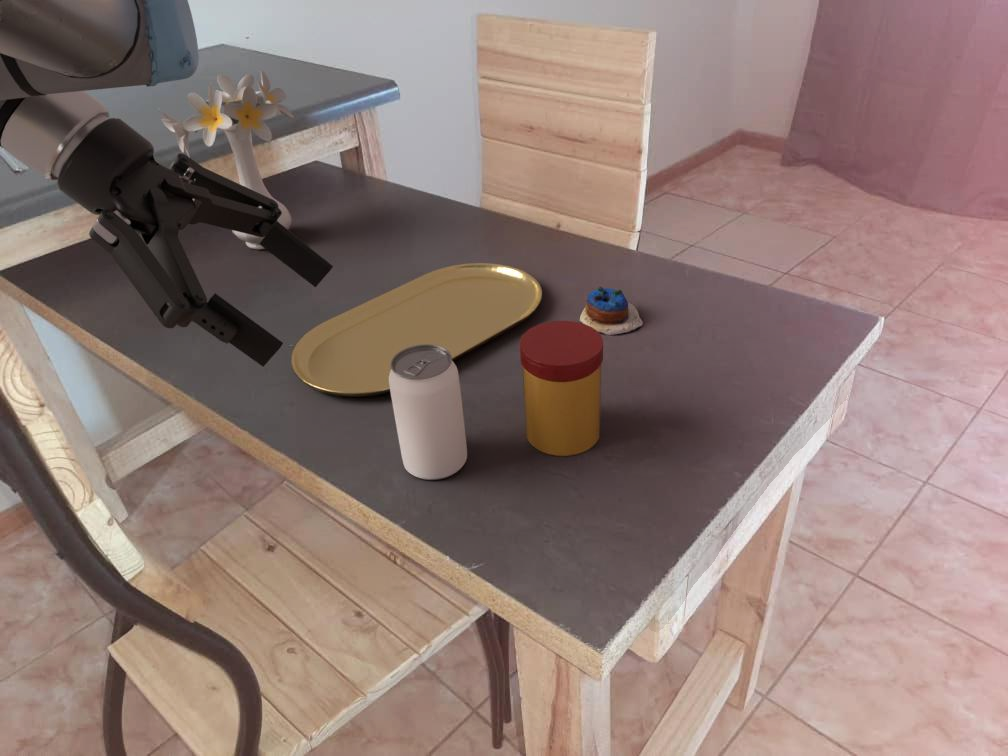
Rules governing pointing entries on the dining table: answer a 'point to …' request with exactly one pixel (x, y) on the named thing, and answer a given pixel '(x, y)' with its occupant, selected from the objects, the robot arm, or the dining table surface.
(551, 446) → the jar
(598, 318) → the dessert
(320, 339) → the serving platter
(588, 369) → the jar lid
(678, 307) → the dining table surface
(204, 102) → the flower vase
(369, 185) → the dining table surface
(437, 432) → the can
